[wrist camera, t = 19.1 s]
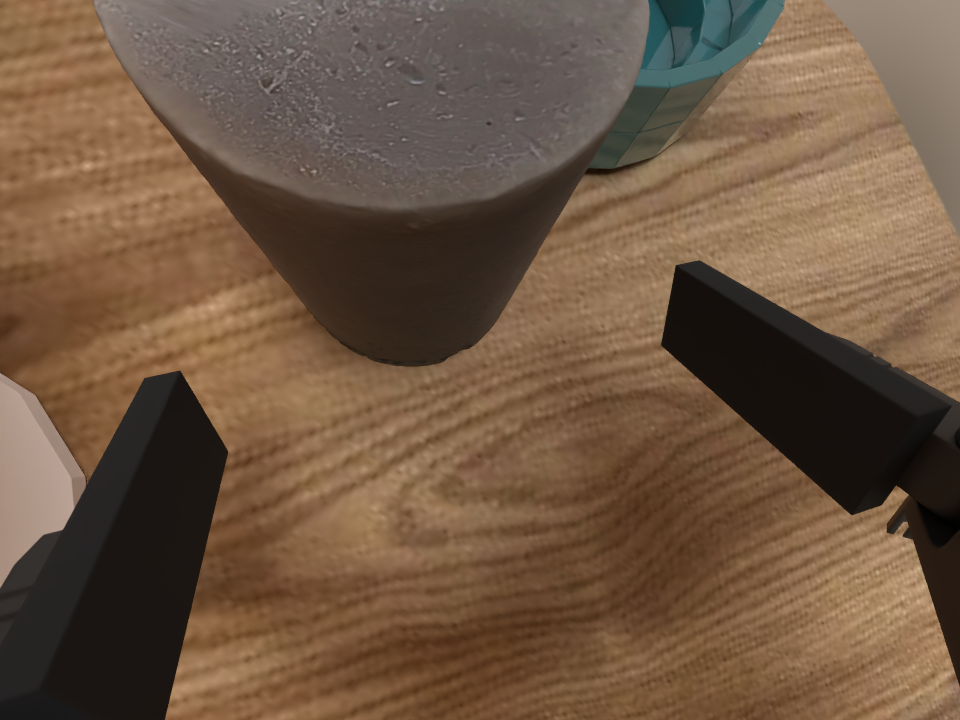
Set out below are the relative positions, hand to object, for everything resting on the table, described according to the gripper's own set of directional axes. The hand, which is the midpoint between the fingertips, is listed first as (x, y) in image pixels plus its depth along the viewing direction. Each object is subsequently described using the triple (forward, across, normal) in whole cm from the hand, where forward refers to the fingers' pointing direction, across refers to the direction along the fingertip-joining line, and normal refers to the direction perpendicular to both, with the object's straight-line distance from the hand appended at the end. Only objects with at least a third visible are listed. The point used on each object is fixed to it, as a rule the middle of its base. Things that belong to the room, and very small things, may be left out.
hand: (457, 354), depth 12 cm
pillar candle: (+10, 0, -2) cm, 10 cm away
